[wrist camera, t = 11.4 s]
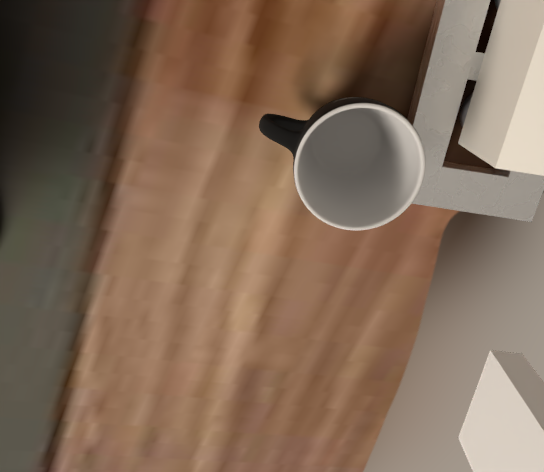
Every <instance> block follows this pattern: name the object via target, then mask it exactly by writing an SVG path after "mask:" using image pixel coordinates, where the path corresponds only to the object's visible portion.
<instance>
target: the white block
mask: <svg viewBox="0 0 544 472" xmlns="http://www.w3.org/2000/svg"><path fill="white" fill-rule="evenodd" d="M494 2H495V6H496V9H497V14H496V18H495V21H494V25H493V28H492V31H491V35H490V38H489V41H488V45H487V48H486V51H485V55H484V58H483V61H482V65H481V68H480V71H479V75H478V78H477V81H476V85H475V88H474V91H473V93H472V94H470V95H469V96H468V97H467V98H466V99H465V101H464V102H463V104H462V106H461V108H460V112H459V120H460V124H461V126H462V132H461V135H460V138H459V142H458V144H459V145H461V146H462V147H464V148H465V149H467V150H468V151H470V152H471V153H473V154H474V155H476V156H477V157H479V158H481V159H482V160H484V161H485V162H487V163H488V164H490V165H491V166H493V167H494V168H497V169H503V170H510V171H516V172H522V173H529V174H535V175H542V176H544V0H494Z"/></svg>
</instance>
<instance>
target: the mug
mask: <svg viewBox="0 0 544 472" xmlns="http://www.w3.org/2000/svg"><path fill="white" fill-rule="evenodd" d="M259 129H260V131H261V132H262V133H263V134H264V135H265V136H266V137H268V138H269V139H271V140H273V141H275V142H277V143H279V144H281V145H283V146H284V147H286V148H288V149H289V150H290V151H291V152H292V154H293V157H294V162H293V172H294V180H295V185H296V188H297V191H298V194H299V196H300V198H301V199H302V201H303V203H304V204H305V206H306V207H307V208H308V209H309V210H310V211H311V212H312V213H313V214H314V215H315V216H316V217H317V218H319V219H320V220H322V221H323V222H325V223H327V224H329V225H331V226H334V227H337V228H340V229H345V230H367V229H372V228H376V227H379V226H382V225H384V224H386V223H388V222H390V221H392V220H393V219H395V218H396V217H398V216H399V215H400V214H402V213H403V212H404V211H405V210H406V209H407V208H408V207H409V206H410V204H411V203H412V202H413V200H414V199H415V197H416V196H417V194H418V192H419V190H420V188H421V185H422V182H423V179H424V175H425V165H426V160H425V152H424V147H423V144H422V141H421V139H420V136H419V134H418V133H417V131H416V129H415V128H414V126H413V125H412V124H411V123H410V122H409V121H408V119H407V118H405V117H404V116H403V115H402V114H401V113H399V112H398V111H397V110H395V109H393V108H392V107H390V106H388V105H386V104H384V103H381V102H379V101H376V100H373V99H368V98H362V97H347V98H341V99H338V100H334V101H332V102H330V103H328V104H326V105H324V106H323V107H321V108H320V109H319V110H318V111H316V112H315V113H314V114H313V115H312V117H311V118H310V119H309V120H305V121H304V120H296V119H292V118H289V117H285V116H281V115H275V114H265V115H264V116H263V117H262V118H261V120H260V123H259Z"/></svg>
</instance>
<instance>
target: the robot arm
mask: <svg viewBox="0 0 544 472" xmlns="http://www.w3.org/2000/svg"><path fill="white" fill-rule="evenodd" d="M459 441H460V443H461V445H462V448H463V450H464V452H465V454H466V456H467V459H468V461H469V464H470V466H471V468H472V471H473V472H544V382H543V381H542V379H541V378H540V377H539V375H538V374H537V373H536V371H535V370H534V369H533V367H532V366H531V365H530V363H529V362H528V361H527V359H526V358H525V357H524V355H523V354H520V353H511V352H502V351H494V350H490V353H489V355H488V358H487V361H486V363H485V366H484V369H483V372H482V375H481V377H480V380H479V383H478V386H477V388H476V391H475V394H474V396H473V399H472V402H471V405H470V408H469V410H468V413H467V415H466V418H465V421H464V424H463V426H462V430H461V432H460V435H459Z"/></svg>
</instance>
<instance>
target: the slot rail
mask: <svg viewBox="0 0 544 472" xmlns="http://www.w3.org/2000/svg"><path fill="white" fill-rule="evenodd" d="M489 4H490V0H437V2H436V6H435V10H434V14H433V18H432V22H431V26H430V30H429V34H428V38H427V42H426V46H425V50H424V54H423V58H422V62H421V66H420V70H419V74H418V78H417V82H416V86H415V90H414V94H413V97H412V101H411V105H410V109H409V113H408V117H407V119H408V121H409V122H410V123H411V124H412V125H413V126H414V128H415V129H416V131H417V133H418V134H419V136H420V139H421V141H422V144H423V147H424V152H425V160H426V165H425V175H424V179H423V182H422V185H421V188H420V190H419V192H418V194H417V196H416V197H415V199H414V200H413V202H412V203H413V204H419V205H426V206H432V207H439V208H445V209H452V210H458V211H465V212H471V213H477V214H484V215H491V216H497V217H504V218H511V219H516V220H523V221H529V222H532V219H533V217H534V214H535V212H536V209H537V206H538V204H539V201H540V199H541V196H542V193H543V191H544V176H542V175H535V174H529V173H522V172H516V171H510V170H503V169H491V168H484V167H478V166H471V165H465V164H458V163H452V162H445V161H444V158H445V155H446V151H447V148H448V145H449V141H450V138H451V134H452V131H453V127H454V124H455V120H456V117H457V114H458V110H459V107H460V103H461V100H462V96H463V93H464V90H465V86H466V83H467V79H469V80H475V81H477V78H478V75H479V71H480V68H481V65H482V61H483V58H484V55H485V53H480V52H476V48H477V45H478V41H479V38H480V34H481V31H482V28H483V24H484V21H485V17H486V14H487V10H488V7H489Z"/></svg>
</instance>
